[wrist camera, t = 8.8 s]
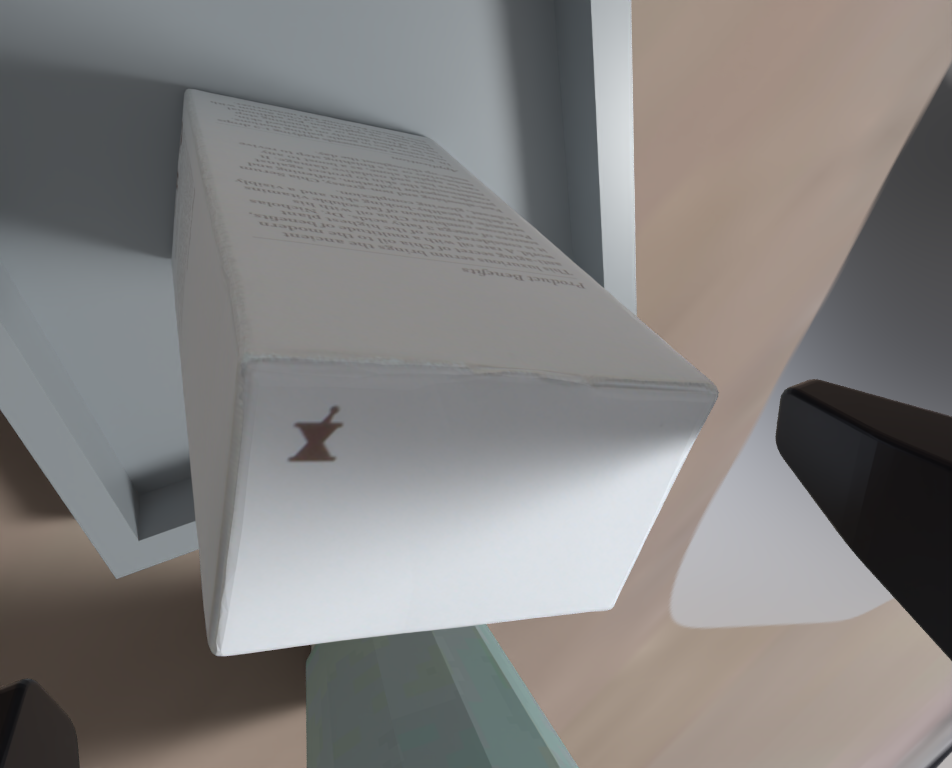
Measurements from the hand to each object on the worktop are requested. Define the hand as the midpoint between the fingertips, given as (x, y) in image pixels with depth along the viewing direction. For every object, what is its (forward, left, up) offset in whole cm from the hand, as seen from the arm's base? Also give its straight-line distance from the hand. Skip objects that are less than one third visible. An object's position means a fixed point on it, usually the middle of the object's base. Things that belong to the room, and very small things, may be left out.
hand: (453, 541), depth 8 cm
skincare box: (0, 0, -12) cm, 13 cm away
